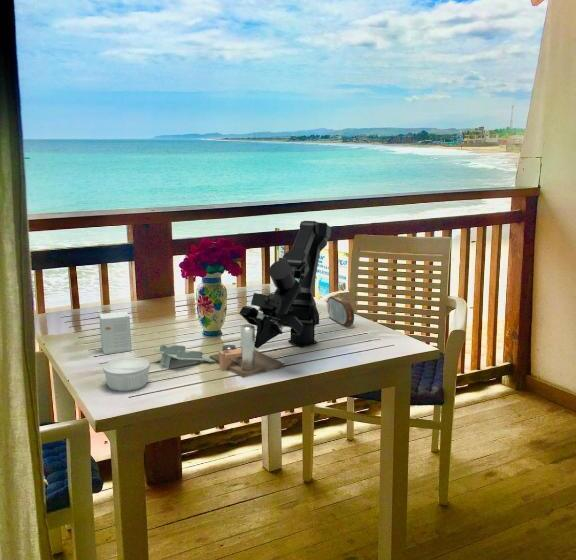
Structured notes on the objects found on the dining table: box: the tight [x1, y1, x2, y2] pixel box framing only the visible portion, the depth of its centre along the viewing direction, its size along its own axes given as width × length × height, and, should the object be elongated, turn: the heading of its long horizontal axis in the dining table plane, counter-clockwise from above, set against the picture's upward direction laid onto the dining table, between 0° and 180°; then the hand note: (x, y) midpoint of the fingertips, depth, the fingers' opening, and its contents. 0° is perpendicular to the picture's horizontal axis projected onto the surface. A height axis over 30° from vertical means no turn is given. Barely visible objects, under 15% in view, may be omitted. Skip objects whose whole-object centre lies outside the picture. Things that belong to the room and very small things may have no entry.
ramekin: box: [102, 356, 151, 392], centre depth 159 cm, size 11×11×5 cm
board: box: [209, 349, 285, 378], centre depth 175 cm, size 13×17×1 cm
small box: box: [98, 311, 132, 355], centre depth 184 cm, size 8×6×10 cm
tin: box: [327, 294, 355, 327], centre depth 212 cm, size 15×3×8 cm, turn 22°
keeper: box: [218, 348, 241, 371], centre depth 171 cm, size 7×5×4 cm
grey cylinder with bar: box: [221, 324, 256, 370], centre depth 171 cm, size 16×4×11 cm, turn 29°
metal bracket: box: [153, 344, 216, 370], centre depth 176 cm, size 14×6×15 cm
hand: (255, 347), depth 167 cm, fingers closed
